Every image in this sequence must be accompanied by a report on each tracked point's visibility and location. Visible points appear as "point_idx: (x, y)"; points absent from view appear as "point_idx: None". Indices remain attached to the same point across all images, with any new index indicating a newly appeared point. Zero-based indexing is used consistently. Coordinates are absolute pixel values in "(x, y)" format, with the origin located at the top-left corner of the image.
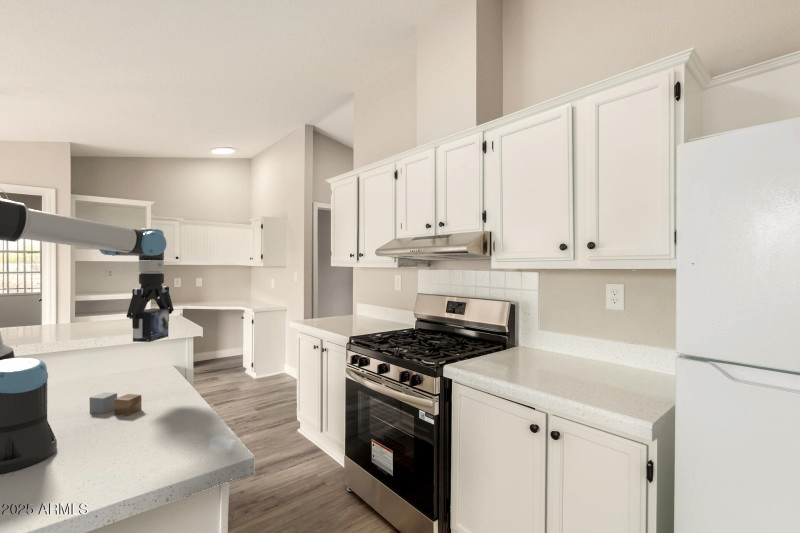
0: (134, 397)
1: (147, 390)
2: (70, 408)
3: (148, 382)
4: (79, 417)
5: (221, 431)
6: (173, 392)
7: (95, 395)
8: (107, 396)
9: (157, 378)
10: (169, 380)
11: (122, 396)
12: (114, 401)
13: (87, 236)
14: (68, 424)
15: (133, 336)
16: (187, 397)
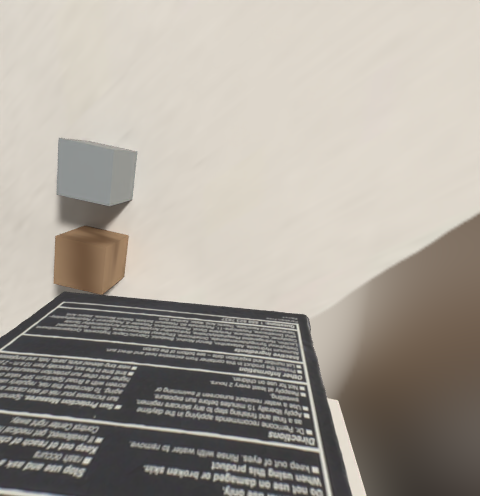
0: (77, 287)
1: (298, 194)
2: (118, 39)
3: (405, 136)
4: (56, 137)
5: None
6: (270, 291)
7: (80, 143)
8: (75, 195)
9: (463, 142)
10: (421, 209)
11: (80, 245)
12: (60, 234)
13: None
14: (10, 145)
15: (31, 319)
16: None
